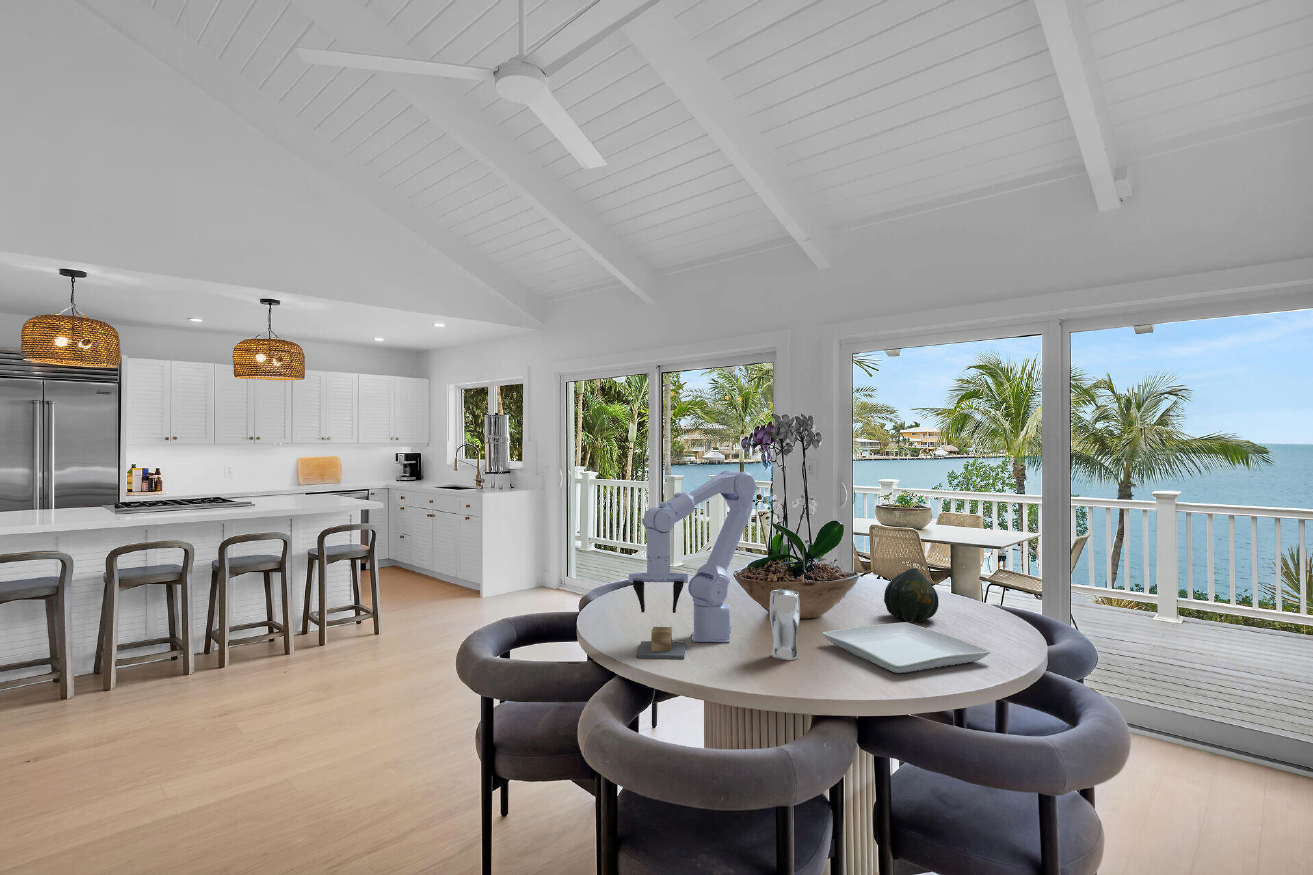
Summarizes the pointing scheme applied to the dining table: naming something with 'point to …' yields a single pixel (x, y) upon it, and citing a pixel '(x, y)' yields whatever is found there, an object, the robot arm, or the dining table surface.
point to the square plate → (905, 646)
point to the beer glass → (784, 623)
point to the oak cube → (661, 638)
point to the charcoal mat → (647, 652)
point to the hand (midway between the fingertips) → (658, 611)
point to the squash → (911, 596)
